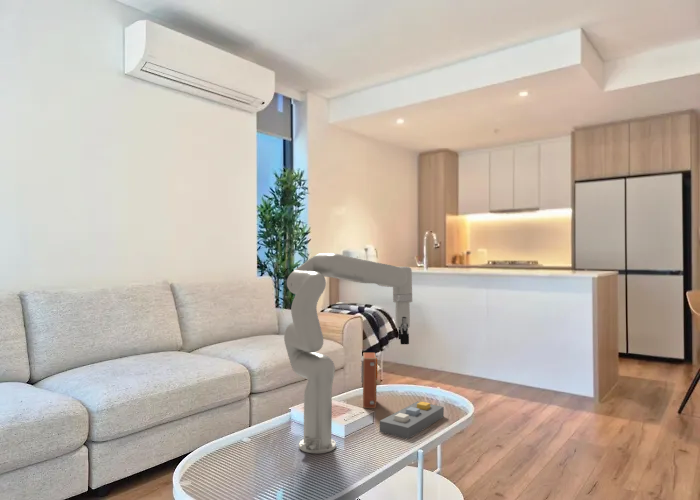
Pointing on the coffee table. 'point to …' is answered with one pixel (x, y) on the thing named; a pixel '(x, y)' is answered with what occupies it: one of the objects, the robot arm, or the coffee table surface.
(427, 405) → the amber button
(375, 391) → the terracotta rectangular block
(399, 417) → the white button
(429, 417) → the button strip
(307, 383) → the robot arm
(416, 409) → the slate button
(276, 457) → the coffee table surface
